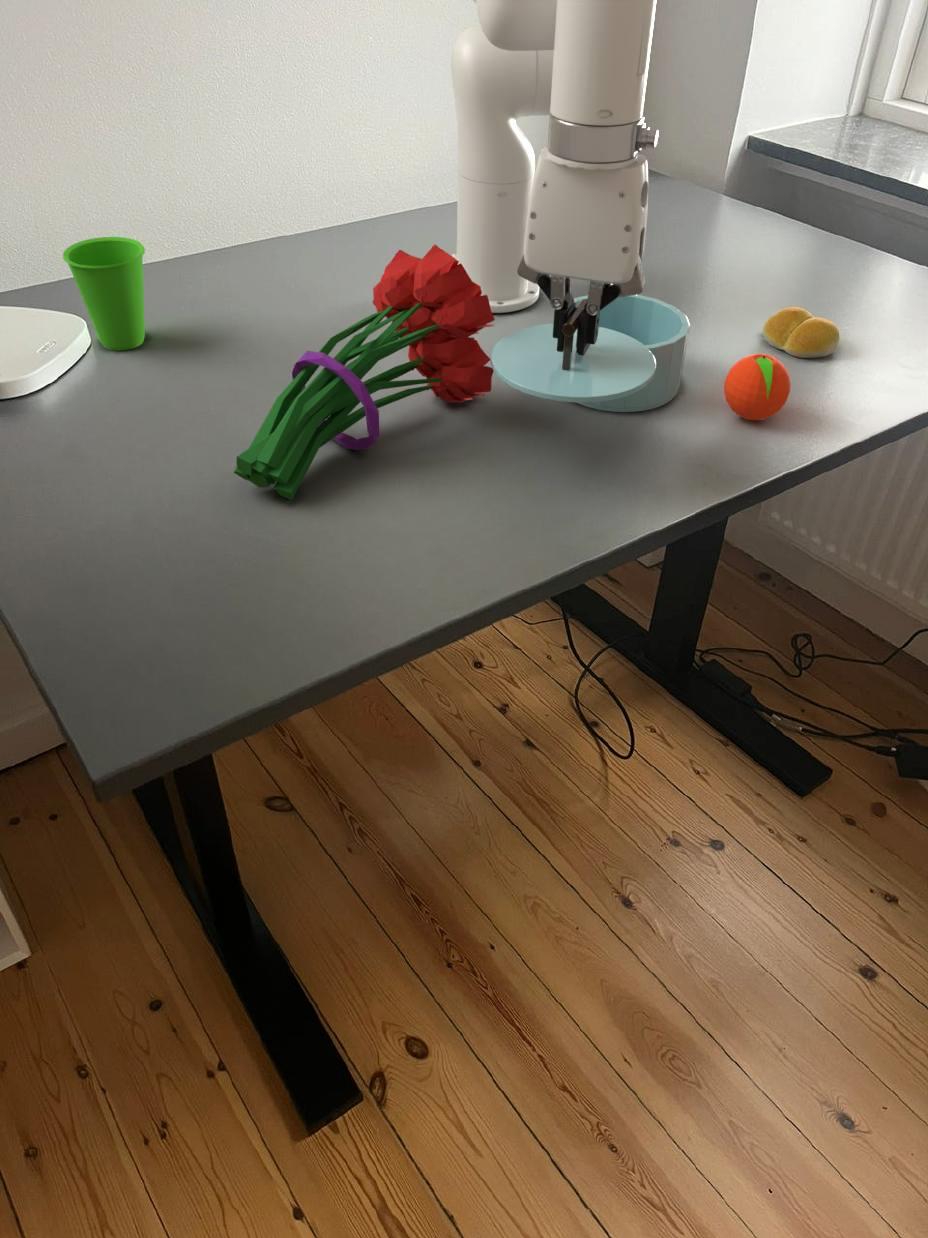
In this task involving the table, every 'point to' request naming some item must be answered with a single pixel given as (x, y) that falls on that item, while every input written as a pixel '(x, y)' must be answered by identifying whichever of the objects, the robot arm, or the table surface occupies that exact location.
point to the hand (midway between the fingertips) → (574, 346)
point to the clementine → (757, 387)
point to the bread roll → (801, 333)
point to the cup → (111, 288)
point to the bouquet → (438, 348)
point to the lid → (573, 363)
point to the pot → (660, 334)
